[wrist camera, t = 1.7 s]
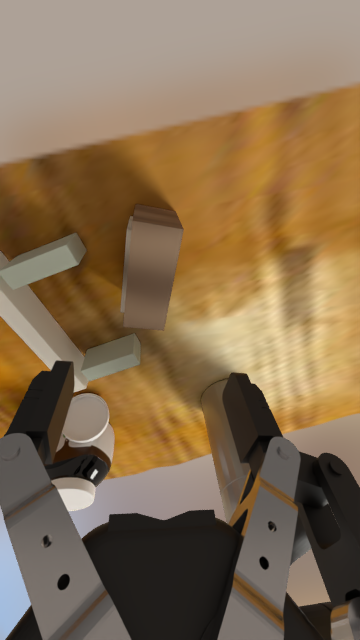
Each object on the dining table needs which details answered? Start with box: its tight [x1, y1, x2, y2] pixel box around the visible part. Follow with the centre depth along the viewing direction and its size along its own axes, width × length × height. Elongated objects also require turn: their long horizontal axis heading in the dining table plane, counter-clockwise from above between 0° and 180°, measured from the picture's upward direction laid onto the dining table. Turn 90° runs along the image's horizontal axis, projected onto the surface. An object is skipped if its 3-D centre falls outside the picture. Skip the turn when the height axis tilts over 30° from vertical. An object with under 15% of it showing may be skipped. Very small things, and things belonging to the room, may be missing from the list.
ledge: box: [0, 233, 141, 393], centre depth 29 cm, size 18×10×4 cm, turn 19°
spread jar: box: [44, 393, 114, 511], centre depth 37 cm, size 12×11×12 cm
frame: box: [120, 204, 184, 331], centre depth 25 cm, size 10×4×7 cm, turn 169°
